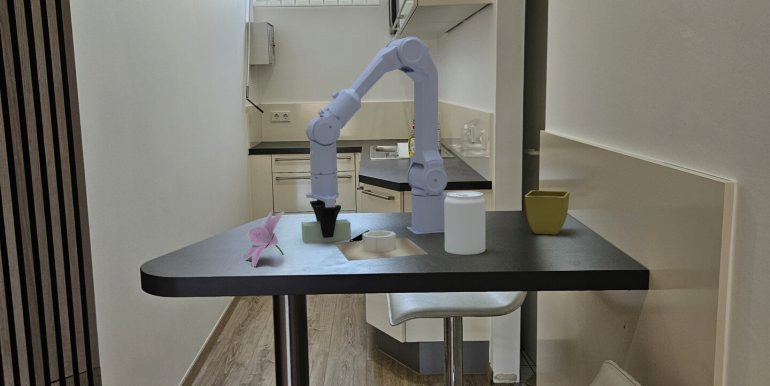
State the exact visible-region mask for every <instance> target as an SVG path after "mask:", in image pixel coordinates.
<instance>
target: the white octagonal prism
mask: <svg viewBox="0 0 770 386" xmlns="http://www.w3.org/2000/svg"><path fill="white" fill-rule="evenodd" d="M361 235H362V241H363V249H364V250H365V251H370V252H386V251H391V250H394V249H396V238H397V234H396V233H395V232H394V231H393V230H392V231H390V230H370V231H369V230H368V231H366V232H363V233H362V234H361Z"/></svg>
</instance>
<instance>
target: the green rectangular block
mask: <svg viewBox="0 0 770 386" xmlns="http://www.w3.org/2000/svg"><path fill="white" fill-rule="evenodd" d="M351 231H352V229H351V222H350V221H349V220H348V219H346V218H345V219H344V218H343V219H336V224H335V230H334V235H333V237H329V238H323V235H322V231H321V225H320V221H317V220H316V221H314V220H313V221H304V222H303V221H302V222H301V240H302V242H303V243H304V244H316V243H317V244H318V243H329V242H346V241H352V232H351Z"/></svg>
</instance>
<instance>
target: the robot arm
mask: <svg viewBox="0 0 770 386" xmlns="http://www.w3.org/2000/svg"><path fill="white" fill-rule="evenodd" d="M429 49H430V47H429V46H428V44H426V43H425V42H424V41H422V39H420V38H419V37H416V36H407V37H403V38H395V39H392V40H390V41H388V42H387V43H386V45H385V46H384V47H383V48H381V49H380V50H379V51H378V52H377V54H376V55H375V56H374V58H373V59H372V60H371V61H370V62H369V64H368V65H367V66H366V67H365V69H363V71H362V72H361V74H360V75H359V76H358V77H357V79H356V80H355V81H354V82H353V83H352V85H351V86H350V87H349V88H343V89H340V90H339V91H334V92H333V94H332V95H331V97H332V98H331V100H330V101H329V102H328V103H327V105H326V106H325V107H324V108H323V109H319V110H318V112H317V114H318V116H316V117H314V118H312V119H311V120H310V121H309V122H308V124H307V128H306V129H305V130H304V131H305V135H306V137H307V139H308V140H309V164H310V186H311V187H310V188H311V193H305V198H307V199H310V198H311V199H314V200H310V201H309V204H310V206H311V208H312V209H313V212H314V217H315V218H316V219H315V220H316V221H320V225H321V231H322V235H323V238H329V237H333V235H334V230H335V224H336V220H338V219H337V218H338V215H339V214H340V211H341V209H342V205H340V204H337V205H336V203H337V199H338V198H339V197H340V193H339V185H338V184H339V183H338V179H339V178H338V155H337V154H338V153H337V140H339V138H340V136H341V129H343V128H345V126H346V125H347V124H348V122H349V121H350V120H351V119H352V118H353V117H354V116H355V115H356V114H357V112H358V111H359V110H360V109H361V107H362V98H363V97H365V95H366V94H367V93H368V92H369V91H370V90H371V89H372V88H373V86H375V84H376V83H378V82H379V80H381V78H382V77H383V76H384V75H385V74H386V73H389V72H392V71H396V70H398V71H400V72H403V73H404V74H405V75H406V76H408V77H409V78H410V79H411V80H412V81H413V85H414V86H413V88H414V89H413V92H414V93H413V95H414V96H413V97H414V98H413V100H414V102H413V104H414V105H413V106H414V113H413V114H414V115H413V117H414V118H413V119H414V124H413V125H414V132H413V133H414V150H413V153H412V154H411V156H410V164H409V168H408V170H407V172H406V181H407V183H408V185H409V186H410V188H411V191H410V192H411V195H410V197H411V200H410V201H411V202H410V203H411V206H410V207H411V226H407V227H406V228H407V229H408V230H409V231H411V232H412V233H414V234H415V235H419V234H421V235H422V234H431V233H432V234H434V233H445V218H444V200H445V198H446V197H447V193H448V192H444V190H445V188H446V187H447V184H448V174H447V172H446V170H445V167H444V166H445V164H444V159H443V157H442V155H441V154H440V153H439V72H438V71H439V70H438V69H437V67H436V64H435V63H434V61H433V58H432V56H431V54H430V50H429Z"/></svg>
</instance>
